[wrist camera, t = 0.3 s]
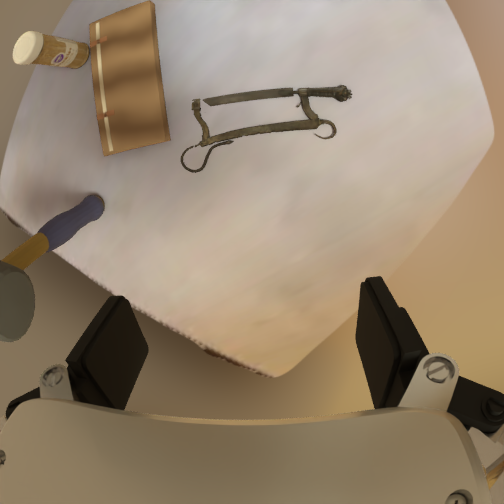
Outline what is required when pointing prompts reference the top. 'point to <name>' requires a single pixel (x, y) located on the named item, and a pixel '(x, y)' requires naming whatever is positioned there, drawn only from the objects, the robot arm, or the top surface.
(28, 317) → the rubber mallet
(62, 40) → the sprinkles bottle
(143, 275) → the top surface
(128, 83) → the board
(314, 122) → the hacksaw
